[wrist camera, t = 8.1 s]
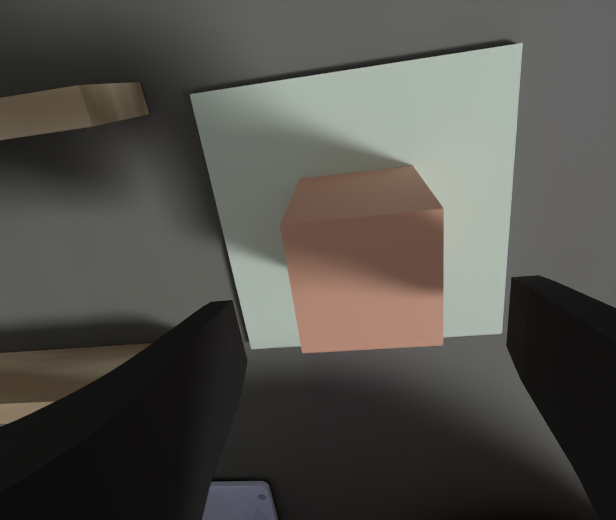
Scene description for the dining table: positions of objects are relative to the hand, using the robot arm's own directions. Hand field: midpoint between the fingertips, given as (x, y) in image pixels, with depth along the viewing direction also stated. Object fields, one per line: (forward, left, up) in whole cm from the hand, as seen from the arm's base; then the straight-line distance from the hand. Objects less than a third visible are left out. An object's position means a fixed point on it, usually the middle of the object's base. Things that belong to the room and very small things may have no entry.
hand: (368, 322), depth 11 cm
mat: (0, 0, -8) cm, 8 cm away
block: (0, 0, -7) cm, 7 cm away
